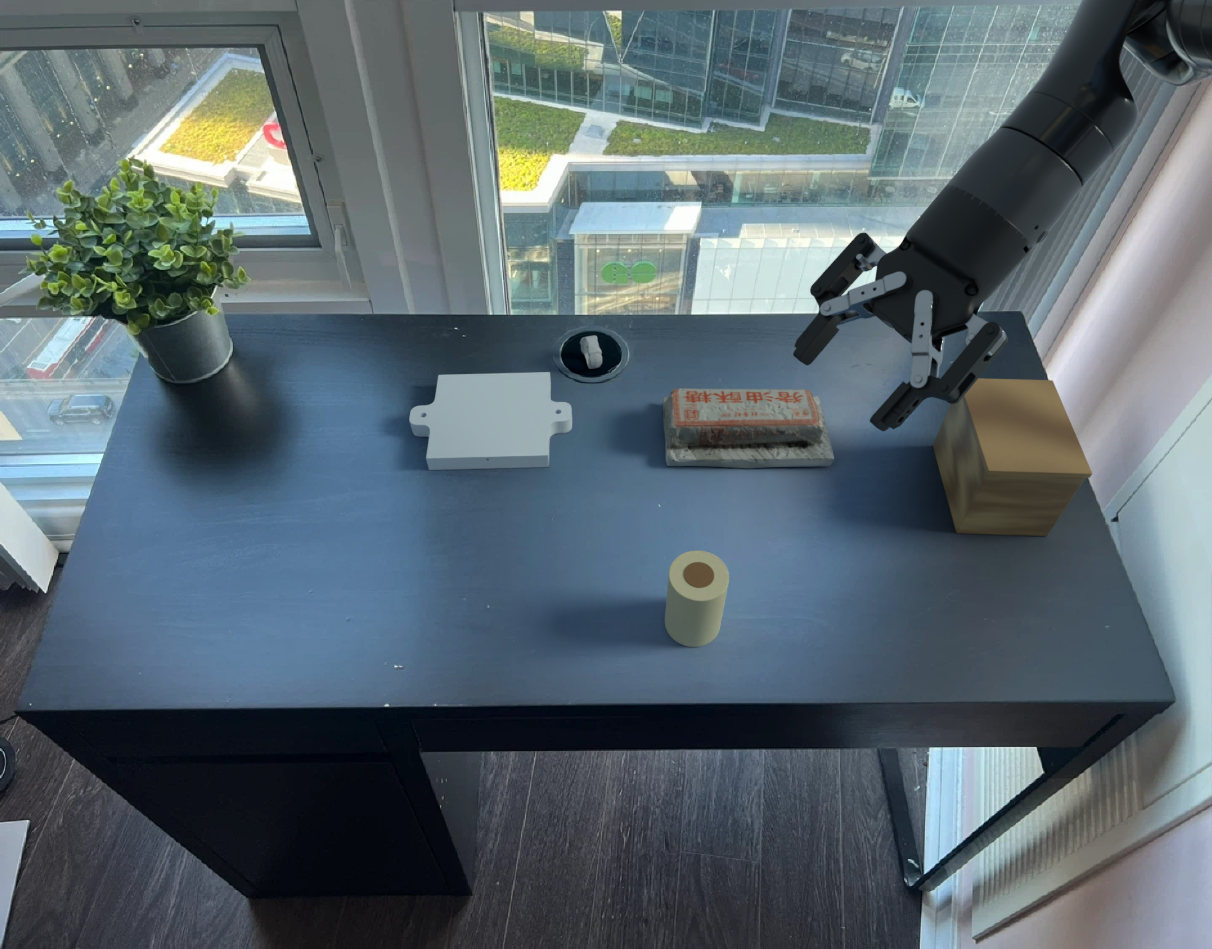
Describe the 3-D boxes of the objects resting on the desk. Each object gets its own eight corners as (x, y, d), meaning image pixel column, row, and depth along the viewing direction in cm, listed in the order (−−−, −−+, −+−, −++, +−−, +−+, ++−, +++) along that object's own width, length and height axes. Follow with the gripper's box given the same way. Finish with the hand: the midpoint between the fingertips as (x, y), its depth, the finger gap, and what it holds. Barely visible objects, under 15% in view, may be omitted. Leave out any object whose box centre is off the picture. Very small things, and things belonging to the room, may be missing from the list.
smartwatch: (604, 373, 100) (604, 347, 97) (587, 376, 100) (586, 350, 97) (597, 354, 103) (596, 328, 100) (580, 357, 102) (579, 331, 99)
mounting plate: (405, 470, 91) (402, 458, 89) (419, 387, 99) (416, 375, 98) (572, 466, 91) (571, 454, 90) (572, 383, 99) (571, 371, 98)
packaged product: (667, 439, 87) (663, 373, 93) (665, 469, 91) (661, 404, 97) (842, 438, 87) (826, 372, 93) (832, 469, 90) (818, 403, 97)
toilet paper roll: (732, 626, 78) (742, 578, 72) (690, 657, 76) (697, 611, 70) (694, 589, 81) (700, 540, 75) (653, 618, 79) (656, 570, 73)
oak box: (1049, 538, 84) (1093, 473, 77) (954, 535, 85) (988, 470, 77) (1016, 446, 92) (1052, 380, 85) (930, 444, 93) (958, 377, 85)
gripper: (900, 146, 60) (755, 327, 65) (1066, 244, 53) (887, 441, 57) (931, 190, 66) (796, 353, 71) (1084, 284, 58) (921, 460, 63)
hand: (837, 392), depth 64 cm, fingers open, 8 cm apart
